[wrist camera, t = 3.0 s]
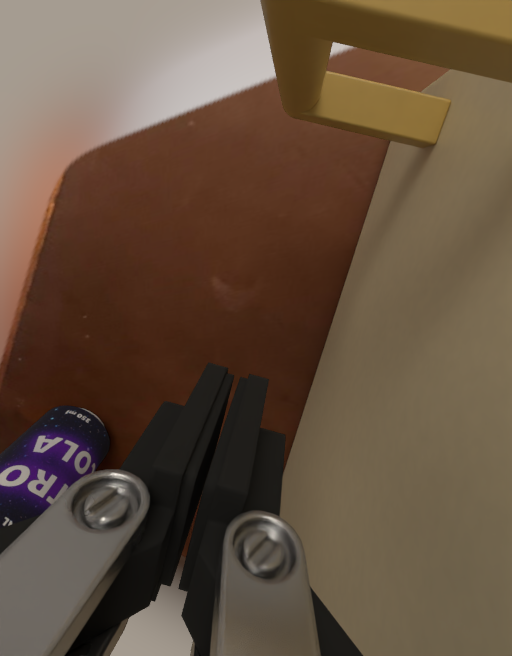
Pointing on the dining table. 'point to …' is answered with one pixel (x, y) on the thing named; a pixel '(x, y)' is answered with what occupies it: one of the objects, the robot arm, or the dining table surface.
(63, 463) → the beverage can
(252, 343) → the dining table surface
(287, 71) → the cupboard door
